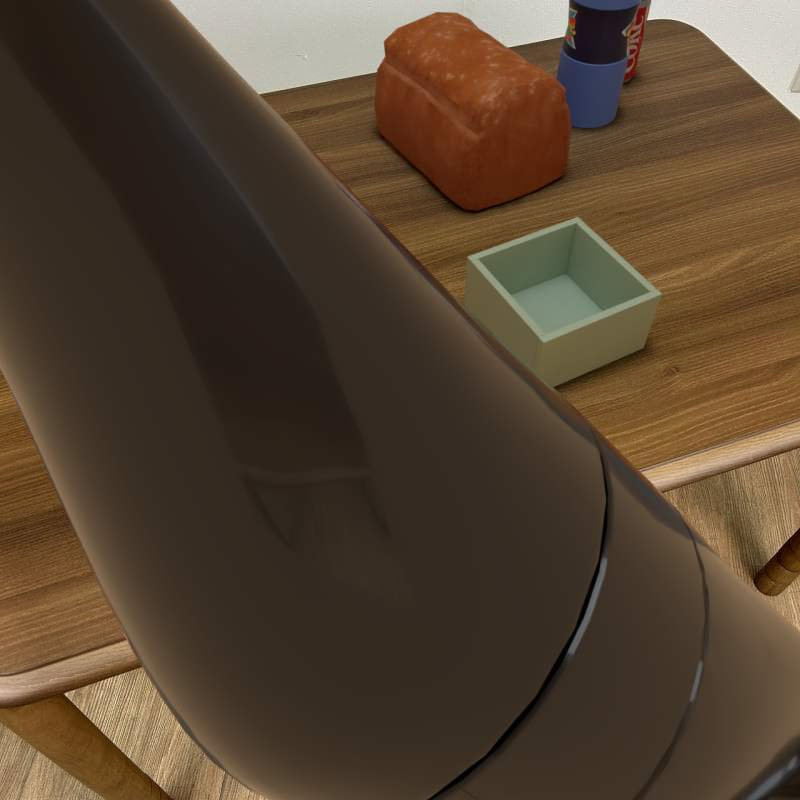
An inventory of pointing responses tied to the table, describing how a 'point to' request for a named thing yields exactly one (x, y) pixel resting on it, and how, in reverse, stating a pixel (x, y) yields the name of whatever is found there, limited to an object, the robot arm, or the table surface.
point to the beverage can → (636, 38)
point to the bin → (561, 300)
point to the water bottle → (595, 58)
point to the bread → (471, 111)
